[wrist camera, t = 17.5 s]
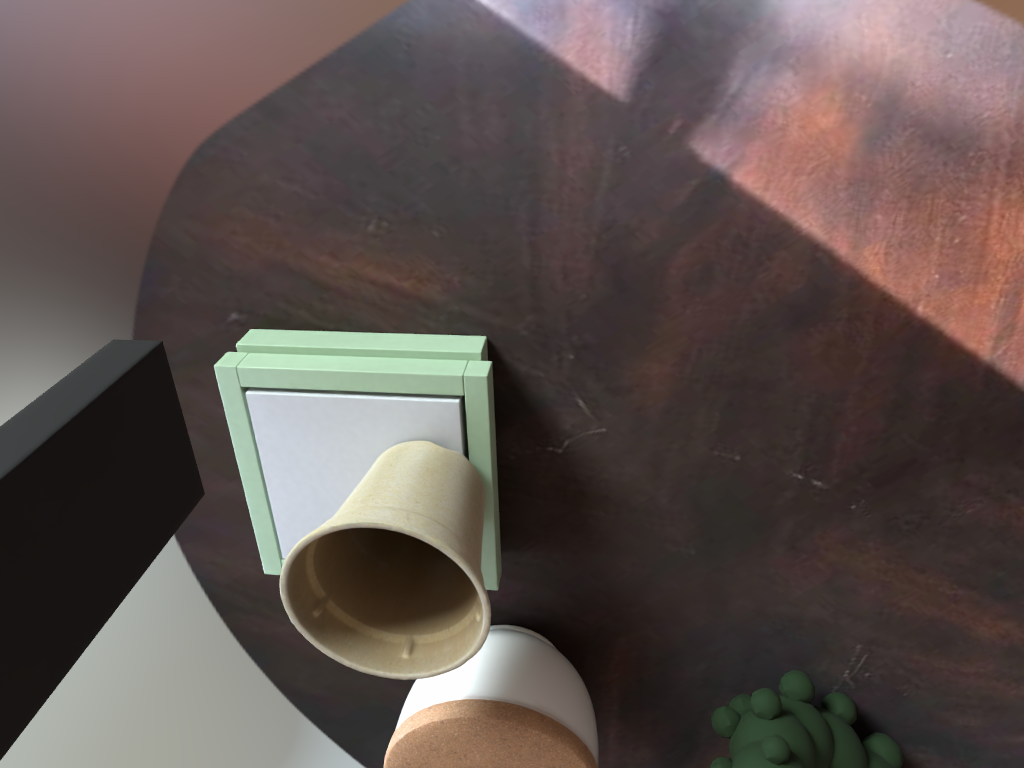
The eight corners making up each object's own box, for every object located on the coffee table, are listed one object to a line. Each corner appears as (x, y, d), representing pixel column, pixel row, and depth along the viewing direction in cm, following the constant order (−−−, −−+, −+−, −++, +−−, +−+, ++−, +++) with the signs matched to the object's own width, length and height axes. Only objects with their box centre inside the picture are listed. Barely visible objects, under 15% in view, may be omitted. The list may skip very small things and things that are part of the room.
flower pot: (441, 581, 44) (404, 709, 37) (308, 485, 42) (240, 600, 35) (552, 490, 40) (535, 614, 33) (411, 378, 38) (358, 483, 30)
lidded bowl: (636, 696, 52) (639, 863, 43) (481, 740, 57) (453, 901, 47) (543, 569, 48) (523, 724, 38) (382, 627, 52) (328, 780, 43)
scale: (241, 328, 42) (211, 358, 39) (497, 336, 40) (487, 367, 37) (287, 541, 49) (265, 579, 46) (506, 555, 48) (498, 596, 45)
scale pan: (257, 378, 41) (244, 392, 40) (464, 386, 40) (459, 401, 38) (292, 541, 46) (282, 558, 45) (476, 553, 45) (471, 572, 44)
